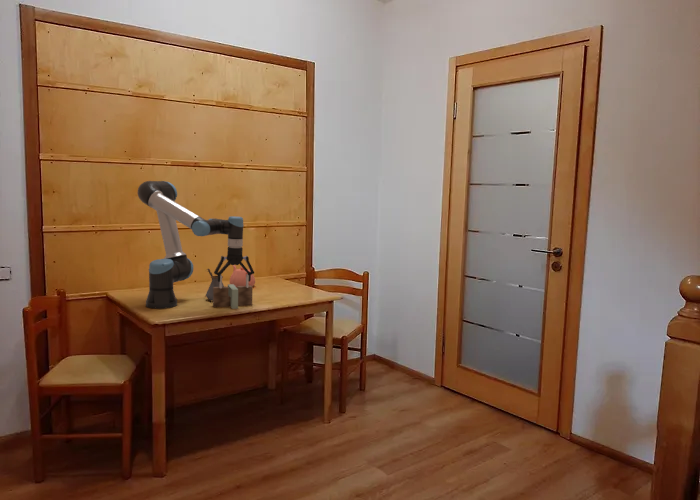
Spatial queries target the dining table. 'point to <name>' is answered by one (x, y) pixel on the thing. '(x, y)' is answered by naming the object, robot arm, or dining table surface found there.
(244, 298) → the walnut slotted plate
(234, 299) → the green slotted plate
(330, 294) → the dining table surface
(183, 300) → the dining table surface
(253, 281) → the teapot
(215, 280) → the coffee pot
